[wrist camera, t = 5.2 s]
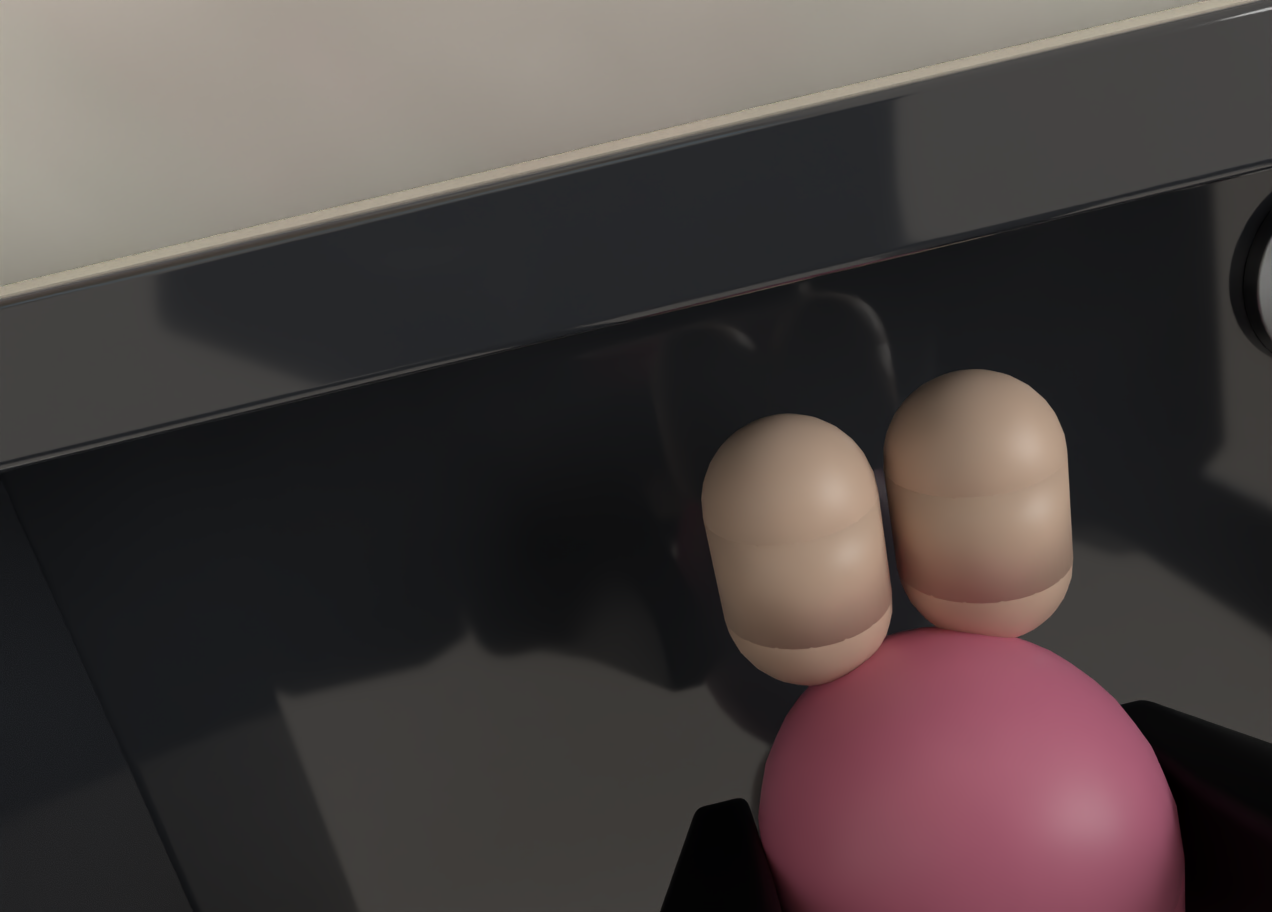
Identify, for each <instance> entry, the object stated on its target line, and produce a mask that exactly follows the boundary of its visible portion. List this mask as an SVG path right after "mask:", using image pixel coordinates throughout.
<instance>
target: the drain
mask: <svg viewBox="0 0 1272 912" xmlns="http://www.w3.org/2000/svg"><path fill="white" fill-rule="evenodd" d="M1244 300H1245V307H1246V311H1247V315H1248V318H1249V320H1250V323H1251V325H1252V328H1253V329H1254V331H1255V333H1256V334H1257V336H1258V338H1259V339H1260V340H1261V342H1262V343H1263V344H1264V345H1265V346H1266V347H1267V349H1269V350H1270V351H1271V352H1272V210H1271V211H1270V213H1269V214H1268V216H1267V217H1266V219H1265V220H1264V222H1263V223H1262V225H1261V227H1260V229H1259V231H1258V232H1257V234H1256V236H1255V239H1254V241H1253V244H1252V246H1251V249H1250V251H1249V255H1248V259H1247V262H1246V268H1245V274H1244Z"/></svg>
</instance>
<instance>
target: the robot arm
mask: <svg viewBox="0 0 1272 912" xmlns="http://www.w3.org/2000/svg"><path fill="white" fill-rule="evenodd" d="M1121 707H1122V708H1123V709H1124V710H1125V712H1126V713H1127V714H1128V715H1129V717H1130V718H1131V719H1132V720H1133V722H1134V723H1135V724H1136V726H1137V727H1138V728H1139V730H1140V731H1141V733H1142V734H1143V735H1144V737H1145V738H1146V739H1147V741H1148V742H1149V744H1150V745H1151V746H1152V748H1153V750H1154V753H1155V755H1156V757H1157V759H1158V762H1159V764H1160V766H1161V768H1162V771H1163V773H1164V775H1165V777H1166V780H1167V782H1168V785H1169V787H1170V790H1171V793H1172V795H1173V798H1174V800H1175V803H1176V805H1177V811H1178V817H1179V824H1180V830H1181V837H1182V843H1183V850H1184V858H1185V912H1272V743H1269V742H1266V741H1263V740H1260V739H1257V738H1255V737H1252V736H1249V735H1246V734H1243V733H1240V732H1237V731H1235V730H1232V729H1229V728H1226V727H1223V726H1220V725H1217V724H1215V723H1212V722H1209V721H1206V720H1203V719H1200V718H1197V717H1195V716H1192V715H1189V714H1186V713H1183V712H1180V711H1177V710H1175V709H1172V708H1169V707H1166V706H1163V705H1160V704H1157V703H1155V702H1151V701H1147V700H1138V701H1133V702H1129V703H1125V704H1121ZM660 912H782V911H781V906H780V902H779V898H778V894H777V890H776V886H775V883H774V880H773V876H772V873H771V870H770V867H769V864H768V861H767V858H766V855H765V852H764V850H763V847H762V843H761V840H760V837H759V834H758V830H757V827H756V824H755V821H754V818H753V815H752V812H751V809H750V806H749V804H748V802H747V801H746V800H745V799H742V798H735V799H731V800H727V801H723V802H719V803H715V804H710V805H706V806H703V807H700V808H699V809H698V810H697V811H696V812H695V814H694V816H693V818H692V821H691V824H690V827H689V830H688V833H687V836H686V838H685V841H684V844H683V847H682V850H681V853H680V856H679V858H678V861H677V864H676V867H675V870H674V873H673V875H672V878H671V881H670V884H669V887H668V890H667V893H666V895H665V898H664V901H663V904H662V907H661V910H660Z"/></svg>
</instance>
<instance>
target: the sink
mask: <svg viewBox="0 0 1272 912" xmlns="http://www.w3.org/2000/svg"><path fill="white" fill-rule="evenodd" d="M1271 210H1272V0H1205V1H1201V2H1197V3H1193V4H1188V5H1184V6H1180V7H1176V8H1172V9H1167V10H1163V11H1159V12H1155V13H1150V14H1146V15H1142V16H1138V17H1134V18H1129V19H1125V20H1121V21H1117V22H1112V23H1108V24H1104V25H1100V26H1096V27H1091V28H1087V29H1083V30H1079V31H1075V32H1070V33H1066V34H1062V35H1058V36H1053V37H1049V38H1045V39H1041V40H1037V41H1032V42H1028V43H1024V44H1020V45H1015V46H1011V47H1007V48H1003V49H999V50H994V51H990V52H986V53H982V54H977V55H973V56H969V57H965V58H961V59H956V60H952V61H948V62H944V63H940V64H935V65H931V66H927V67H923V68H918V69H914V70H910V71H906V72H902V73H897V74H893V75H889V76H885V77H880V78H876V79H872V80H868V81H864V82H859V83H855V84H851V85H847V86H843V87H838V88H834V89H830V90H826V91H821V92H817V93H813V94H809V95H805V96H800V97H796V98H792V99H788V100H783V101H779V102H775V103H771V104H767V105H762V106H758V107H754V108H750V109H746V110H741V111H737V112H733V113H729V114H724V115H720V116H716V117H712V118H708V119H703V120H699V121H695V122H691V123H686V124H682V125H678V126H674V127H670V128H665V129H661V130H657V131H653V132H649V133H644V134H640V135H636V136H632V137H627V138H623V139H619V140H615V141H611V142H606V143H602V144H598V145H594V146H589V147H585V148H581V149H577V150H573V151H568V152H564V153H560V154H556V155H552V156H547V157H543V158H539V159H535V160H530V161H526V162H522V163H518V164H514V165H509V166H505V167H501V168H497V169H492V170H488V171H484V172H480V173H476V174H471V175H467V176H463V177H459V178H455V179H450V180H446V181H442V182H438V183H433V184H429V185H425V186H421V187H417V188H412V189H408V190H404V191H400V192H395V193H391V194H387V195H383V196H379V197H374V198H370V199H366V200H362V201H358V202H353V203H349V204H345V205H341V206H336V207H332V208H328V209H324V210H320V211H315V212H311V213H307V214H303V215H298V216H294V217H290V218H286V219H282V220H277V221H273V222H269V223H265V224H261V225H256V226H252V227H248V228H244V229H239V230H235V231H231V232H227V233H223V234H218V235H214V236H210V237H206V238H201V239H197V240H193V241H189V242H185V243H180V244H176V245H172V246H168V247H164V248H159V249H155V250H151V251H147V252H142V253H138V254H134V255H130V256H126V257H121V258H117V259H113V260H109V261H104V262H100V263H96V264H92V265H88V266H83V267H79V268H75V269H71V270H67V271H62V272H58V273H54V274H50V275H45V276H41V277H37V278H33V279H29V280H24V281H20V282H16V283H12V284H7V285H3V286H0V912H660V910H661V907H662V904H663V901H664V898H665V895H666V893H667V890H668V887H669V884H670V881H671V878H672V875H673V873H674V870H675V867H676V864H677V861H678V858H679V856H680V853H681V850H682V847H683V844H684V841H685V838H686V836H687V833H688V830H689V827H690V824H691V821H692V818H693V816H694V814H695V812H696V811H697V810H698V809H699V808H700V807H703V806H706V805H710V804H715V803H719V802H723V801H727V800H731V799H735V798H742V799H745V800H746V801H747V802H748V804H749V806H750V809H751V812H752V815H753V818H754V821H755V824H756V827H757V830H758V834H759V837H760V832H759V821H758V814H759V805H760V796H761V788H762V782H763V776H764V770H765V764H766V761H767V758H768V756H769V753H770V751H771V748H772V745H773V743H774V740H775V738H776V736H777V734H778V732H779V730H780V727H781V725H782V723H783V721H784V719H785V717H786V715H787V714H788V712H789V711H790V709H791V708H792V707H793V705H794V704H795V702H796V701H797V699H798V698H799V697H800V696H801V695H802V693H803V692H804V691H805V690H806V689H807V688H808V687H809V686H806V685H796V684H791V683H786V682H783V681H780V680H777V679H775V678H773V677H771V676H769V675H767V674H766V673H764V672H762V671H761V670H759V669H757V668H756V667H755V666H754V665H753V664H752V663H751V662H750V661H749V660H748V659H747V658H746V657H745V656H744V655H743V654H742V653H741V652H740V650H739V649H738V647H737V646H736V644H735V642H734V641H733V639H732V637H731V635H730V634H729V631H728V628H727V625H726V622H725V619H724V614H723V609H722V605H721V600H720V595H719V591H718V586H717V581H716V577H715V572H714V567H713V563H712V558H711V553H710V548H709V544H708V539H707V534H706V530H705V525H704V520H703V512H702V502H701V496H702V488H703V482H704V478H705V475H706V472H707V470H708V467H709V464H710V462H711V460H712V459H713V457H714V455H715V454H716V452H717V451H718V449H719V448H720V446H721V445H722V444H723V443H724V442H725V441H726V440H727V439H728V438H729V437H730V436H731V435H732V434H733V433H735V432H736V431H737V430H739V429H740V428H742V427H744V426H745V425H747V424H749V423H751V422H753V421H755V420H757V419H760V418H763V417H766V416H771V415H776V414H787V413H789V414H800V415H807V416H812V417H816V418H819V419H821V420H823V421H825V422H828V423H830V424H832V425H834V426H836V427H837V428H839V429H840V430H841V431H843V432H844V433H845V434H847V435H848V436H849V437H850V438H851V439H853V440H854V442H855V443H856V444H857V445H858V446H859V448H860V449H861V450H862V451H863V453H864V455H865V456H866V458H867V460H868V462H869V464H870V466H871V468H872V470H873V472H874V476H875V480H876V483H877V487H878V493H879V500H880V508H881V515H882V522H883V530H884V537H885V544H886V551H887V559H888V566H889V573H890V581H891V588H892V615H891V620H890V624H889V628H888V631H887V634H886V636H888V635H891V634H894V633H897V632H901V631H905V630H911V629H916V628H921V627H933V626H935V625H933V624H932V623H930V622H929V621H928V620H926V619H925V618H924V617H923V616H922V615H921V614H920V612H919V611H918V610H917V609H916V608H915V607H914V606H913V604H912V603H911V602H910V600H909V598H908V596H907V594H906V592H905V590H904V588H903V586H902V584H901V582H900V578H899V574H898V570H897V565H896V558H895V550H894V543H893V535H892V528H891V520H890V513H889V505H888V498H887V491H886V483H885V476H884V468H883V466H884V461H883V447H884V442H885V437H886V432H887V430H888V428H889V425H890V423H891V421H892V419H893V416H894V414H895V412H896V411H897V410H898V408H899V407H900V406H901V404H902V403H903V402H904V401H905V399H906V398H907V397H908V396H909V395H910V394H912V393H913V392H914V391H915V390H916V389H918V388H919V387H920V386H921V385H923V384H924V383H926V382H928V381H930V380H932V379H934V378H936V377H939V376H941V375H943V374H946V373H950V372H953V371H958V370H966V369H984V370H990V371H995V372H999V373H1004V374H1007V375H1010V376H1012V377H1014V378H1016V379H1018V380H1020V381H1022V382H1023V383H1025V384H1027V385H1029V386H1030V387H1031V388H1032V389H1034V390H1035V391H1036V392H1037V393H1038V394H1039V395H1041V396H1042V397H1043V398H1044V399H1045V400H1046V401H1047V403H1048V404H1049V405H1050V407H1051V408H1052V409H1053V411H1054V412H1055V414H1056V416H1057V418H1058V421H1059V423H1060V425H1061V427H1062V430H1063V432H1064V435H1065V441H1066V446H1067V456H1068V474H1069V491H1070V509H1071V527H1072V544H1073V565H1072V578H1071V581H1070V584H1069V587H1068V590H1067V592H1066V594H1065V597H1064V599H1063V600H1062V602H1061V603H1060V605H1059V606H1058V608H1057V609H1056V611H1055V612H1054V613H1053V614H1052V615H1051V616H1050V617H1049V618H1048V619H1047V620H1046V621H1044V622H1043V623H1042V624H1041V625H1040V626H1038V627H1037V628H1035V629H1034V630H1032V631H1030V632H1028V633H1026V634H1024V635H1021V636H1018V637H1016V638H1019V639H1022V640H1026V641H1028V642H1031V643H1033V644H1036V645H1038V646H1040V647H1043V648H1045V649H1047V650H1050V651H1052V652H1053V653H1055V654H1057V655H1058V656H1060V657H1062V658H1063V659H1065V660H1066V661H1068V662H1070V663H1071V664H1073V665H1074V666H1075V667H1077V668H1078V669H1080V670H1081V671H1082V672H1084V673H1085V674H1087V675H1088V676H1089V677H1091V678H1092V679H1093V680H1095V681H1096V682H1097V683H1098V684H1099V685H1100V686H1101V687H1103V688H1104V689H1105V690H1106V691H1107V692H1108V693H1109V694H1110V695H1111V696H1113V697H1114V698H1115V699H1116V701H1117V702H1118V703H1119V704H1120V705H1121V704H1125V703H1129V702H1133V701H1138V700H1147V701H1151V702H1155V703H1157V704H1160V705H1163V706H1166V707H1169V708H1172V709H1175V710H1177V711H1180V712H1183V713H1186V714H1189V715H1192V716H1195V717H1197V718H1200V719H1203V720H1206V721H1209V722H1212V723H1215V724H1217V725H1220V726H1223V727H1226V728H1229V729H1232V730H1235V731H1237V732H1240V733H1243V734H1246V735H1249V736H1252V737H1255V738H1257V739H1260V740H1263V741H1266V742H1269V743H1272V352H1271V351H1270V350H1269V349H1267V347H1266V346H1265V345H1264V344H1263V343H1262V342H1261V340H1260V339H1259V338H1258V336H1257V334H1256V333H1255V331H1254V329H1253V328H1252V325H1251V323H1250V320H1249V318H1248V315H1247V311H1246V307H1245V300H1244V274H1245V268H1246V262H1247V259H1248V255H1249V251H1250V249H1251V246H1252V244H1253V241H1254V239H1255V236H1256V234H1257V232H1258V231H1259V229H1260V227H1261V225H1262V223H1263V222H1264V220H1265V219H1266V217H1267V216H1268V214H1269V213H1270V211H1271Z"/></svg>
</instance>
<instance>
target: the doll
mask: <svg viewBox="0 0 1272 912" xmlns="http://www.w3.org/2000/svg"><path fill="white" fill-rule="evenodd" d="M883 461H884V466H883V468H884V476H885V483H886V491H887V498H888V505H889V513H890V520H891V528H892V535H893V543H894V550H895V558H896V565H897V570H898V574H899V578H900V582H901V584H902V586H903V588H904V590H905V592H906V594H907V596H908V598H909V600H910V602H911V603H912V604H913V606H914V607H915V608H916V609H917V610H918V611H919V612H920V614H921V615H922V616H923V617H924V618H925V619H926V620H928V621H929V622H930V623H932V624H933V625H935V626H933V627H921V628H916V629H911V630H905V631H901V632H897V633H894V634H891V635H888V636H886V634H887V631H888V628H889V624H890V620H891V615H892V588H891V581H890V573H889V566H888V559H887V551H886V544H885V537H884V530H883V522H882V515H881V508H880V500H879V493H878V487H877V483H876V480H875V476H874V472H873V470H872V468H871V466H870V464H869V462H868V460H867V458H866V456H865V455H864V453H863V451H862V450H861V449H860V448H859V446H858V445H857V444H856V443H855V442H854V440H853V439H851V438H850V437H849V436H848V435H847V434H845V433H844V432H843V431H841V430H840V429H839V428H837V427H836V426H834V425H832V424H830V423H828V422H825V421H823V420H821V419H819V418H816V417H812V416H807V415H800V414H789V413H787V414H776V415H771V416H766V417H763V418H760V419H757V420H755V421H753V422H751V423H749V424H747V425H745V426H744V427H742V428H740V429H739V430H737V431H736V432H735V433H733V434H732V435H731V436H730V437H729V438H728V439H727V440H726V441H725V442H724V443H723V444H722V445H721V446H720V448H719V449H718V451H717V452H716V454H715V455H714V457H713V459H712V460H711V462H710V464H709V467H708V470H707V472H706V475H705V478H704V482H703V488H702V496H701V502H702V512H703V520H704V525H705V530H706V534H707V539H708V544H709V548H710V553H711V558H712V563H713V567H714V572H715V577H716V581H717V586H718V591H719V595H720V600H721V605H722V609H723V614H724V619H725V622H726V625H727V628H728V631H729V634H730V635H731V637H732V639H733V641H734V642H735V644H736V646H737V647H738V649H739V650H740V652H741V653H742V654H743V655H744V656H745V657H746V658H747V659H748V660H749V661H750V662H751V663H752V664H753V665H754V666H755V667H756V668H757V669H759V670H761V671H762V672H764V673H766V674H767V675H769V676H771V677H773V678H775V679H777V680H780V681H783V682H786V683H791V684H796V685H806V686H809V687H808V688H807V689H806V690H805V691H804V692H803V693H802V695H801V696H800V697H799V698H798V699H797V701H796V702H795V704H794V705H793V707H792V708H791V709H790V711H789V712H788V714H787V715H786V717H785V719H784V721H783V723H782V725H781V727H780V730H779V732H778V734H777V736H776V738H775V740H774V743H773V745H772V748H771V751H770V753H769V756H768V758H767V761H766V764H765V770H764V776H763V782H762V788H761V796H760V805H759V814H758V821H759V832H760V840H761V843H762V847H763V850H764V852H765V855H766V858H767V861H768V864H769V867H770V870H771V873H772V876H773V880H774V883H775V886H776V890H777V894H778V898H779V902H780V906H781V911H782V912H1185V858H1184V850H1183V843H1182V837H1181V830H1180V824H1179V817H1178V811H1177V805H1176V803H1175V800H1174V798H1173V795H1172V793H1171V790H1170V787H1169V785H1168V782H1167V780H1166V777H1165V775H1164V773H1163V771H1162V768H1161V766H1160V764H1159V762H1158V759H1157V757H1156V755H1155V753H1154V750H1153V748H1152V746H1151V745H1150V744H1149V742H1148V741H1147V739H1146V738H1145V737H1144V735H1143V734H1142V733H1141V731H1140V730H1139V728H1138V727H1137V726H1136V724H1135V723H1134V722H1133V720H1132V719H1131V718H1130V717H1129V715H1128V714H1127V713H1126V712H1125V710H1124V709H1123V708H1122V707H1121V705H1120V704H1119V703H1118V702H1117V701H1116V699H1115V698H1114V697H1113V696H1111V695H1110V694H1109V693H1108V692H1107V691H1106V690H1105V689H1104V688H1103V687H1101V686H1100V685H1099V684H1098V683H1097V682H1096V681H1095V680H1093V679H1092V678H1091V677H1089V676H1088V675H1087V674H1085V673H1084V672H1082V671H1081V670H1080V669H1078V668H1077V667H1075V666H1074V665H1073V664H1071V663H1070V662H1068V661H1066V660H1065V659H1063V658H1062V657H1060V656H1058V655H1057V654H1055V653H1053V652H1052V651H1050V650H1047V649H1045V648H1043V647H1040V646H1038V645H1036V644H1033V643H1031V642H1028V641H1026V640H1022V639H1019V638H1016V637H1018V636H1021V635H1024V634H1026V633H1028V632H1030V631H1032V630H1034V629H1035V628H1037V627H1038V626H1040V625H1041V624H1042V623H1043V622H1044V621H1046V620H1047V619H1048V618H1049V617H1050V616H1051V615H1052V614H1053V613H1054V612H1055V611H1056V609H1057V608H1058V606H1059V605H1060V603H1061V602H1062V600H1063V599H1064V597H1065V594H1066V592H1067V590H1068V587H1069V584H1070V581H1071V578H1072V565H1073V544H1072V527H1071V509H1070V491H1069V474H1068V456H1067V446H1066V441H1065V435H1064V432H1063V430H1062V427H1061V425H1060V423H1059V421H1058V418H1057V416H1056V414H1055V412H1054V411H1053V409H1052V408H1051V407H1050V405H1049V404H1048V403H1047V401H1046V400H1045V399H1044V398H1043V397H1042V396H1041V395H1039V394H1038V393H1037V392H1036V391H1035V390H1034V389H1032V388H1031V387H1030V386H1029V385H1027V384H1025V383H1023V382H1022V381H1020V380H1018V379H1016V378H1014V377H1012V376H1010V375H1007V374H1004V373H999V372H995V371H990V370H984V369H966V370H958V371H953V372H950V373H946V374H943V375H941V376H939V377H936V378H934V379H932V380H930V381H928V382H926V383H924V384H923V385H921V386H920V387H919V388H918V389H916V390H915V391H914V392H913V393H912V394H910V395H909V396H908V397H907V398H906V399H905V401H904V402H903V403H902V404H901V406H900V407H899V408H898V410H897V411H896V412H895V414H894V416H893V419H892V421H891V423H890V425H889V428H888V430H887V432H886V437H885V442H884V447H883Z"/></svg>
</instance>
